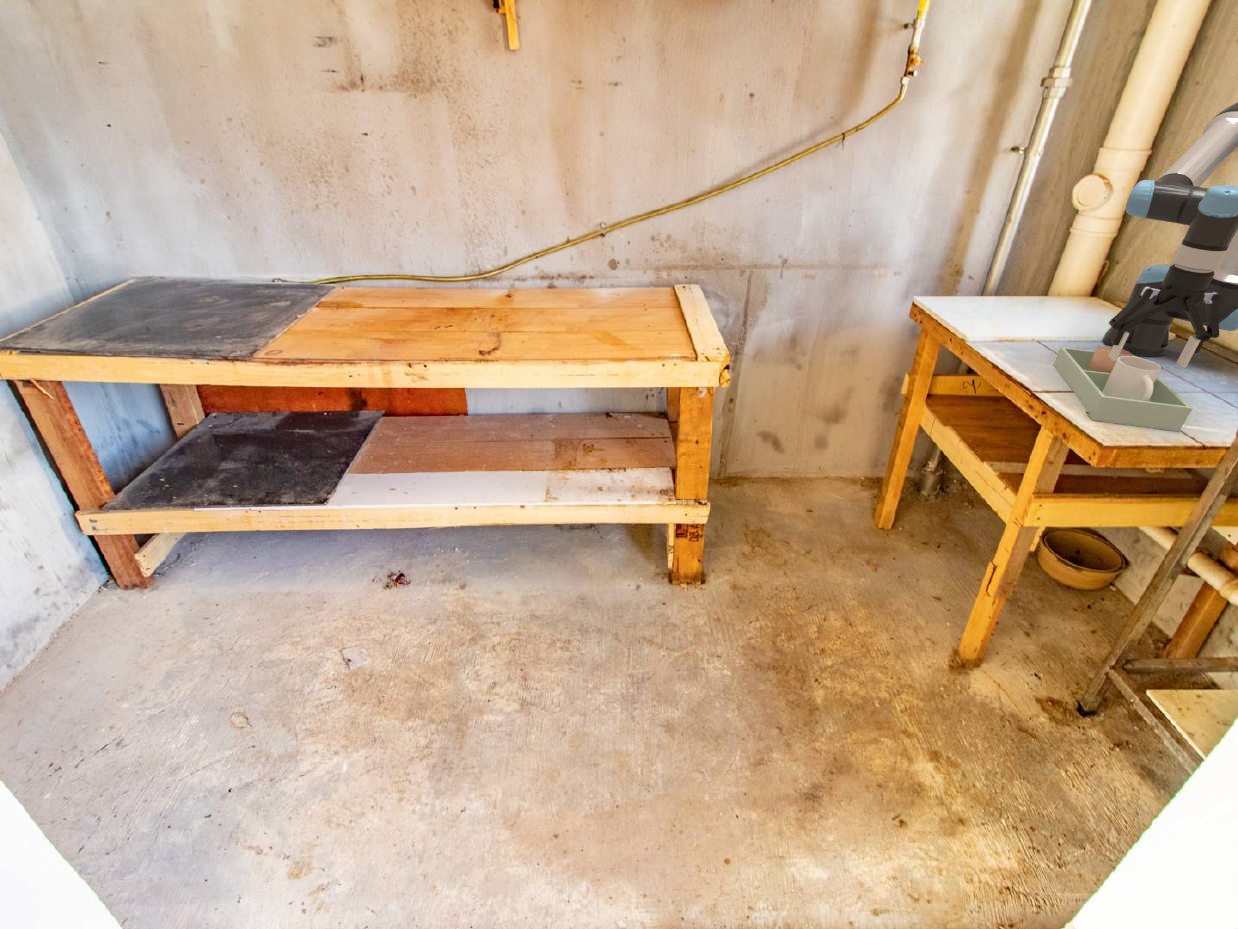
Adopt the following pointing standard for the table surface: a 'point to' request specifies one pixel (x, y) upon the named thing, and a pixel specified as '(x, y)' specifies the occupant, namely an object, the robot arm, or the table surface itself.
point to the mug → (1132, 378)
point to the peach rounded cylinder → (1104, 359)
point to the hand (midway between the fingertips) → (1146, 362)
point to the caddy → (1088, 386)
